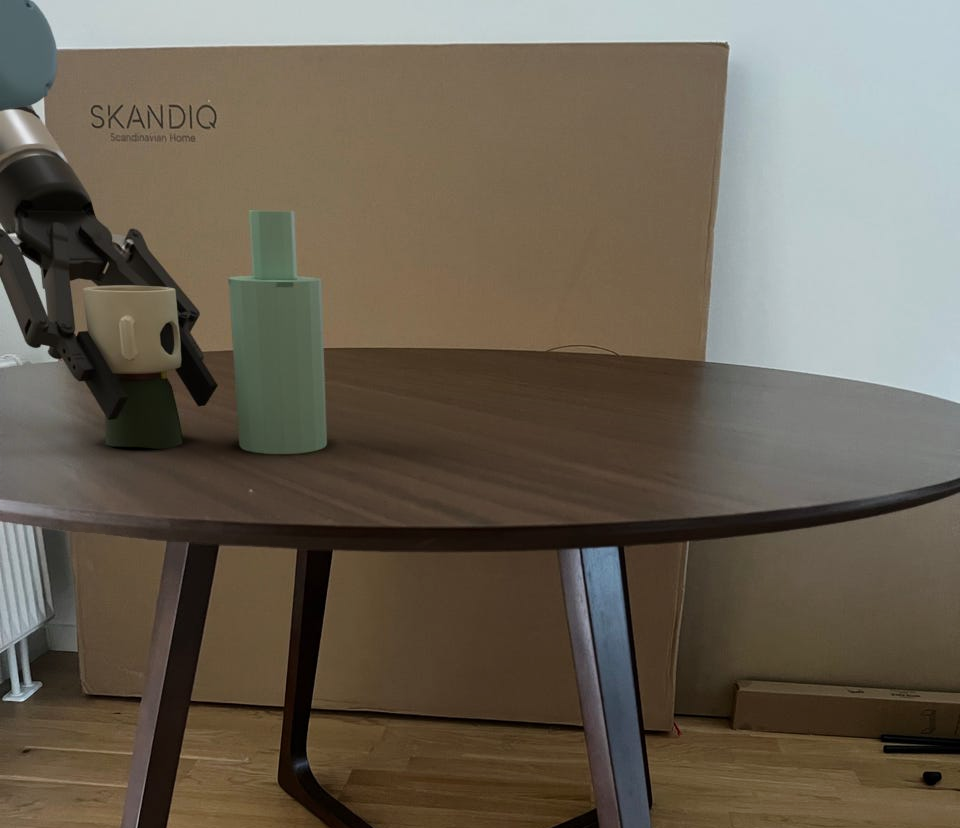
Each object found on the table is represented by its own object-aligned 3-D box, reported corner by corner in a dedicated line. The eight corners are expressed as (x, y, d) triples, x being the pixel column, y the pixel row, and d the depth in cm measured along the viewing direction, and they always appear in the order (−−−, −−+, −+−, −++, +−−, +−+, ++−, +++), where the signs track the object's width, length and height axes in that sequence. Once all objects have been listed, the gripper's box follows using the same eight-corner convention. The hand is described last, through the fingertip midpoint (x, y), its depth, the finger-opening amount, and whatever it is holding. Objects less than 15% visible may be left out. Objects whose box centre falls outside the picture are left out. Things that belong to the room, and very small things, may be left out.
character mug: (186, 463, 83) (171, 293, 78) (93, 465, 82) (72, 292, 77) (192, 435, 93) (179, 284, 88) (109, 437, 91) (91, 283, 86)
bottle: (248, 463, 83) (232, 209, 76) (234, 445, 89) (217, 209, 82) (335, 458, 86) (328, 212, 78) (315, 441, 92) (306, 211, 85)
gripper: (122, 219, 97) (246, 414, 94) (-107, 217, 81) (32, 449, 79) (151, 157, 92) (282, 360, 89) (-88, 141, 76) (61, 386, 73)
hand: (164, 401), depth 84 cm, fingers open, 8 cm apart
